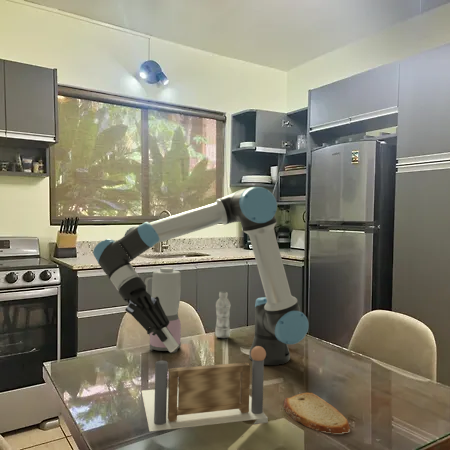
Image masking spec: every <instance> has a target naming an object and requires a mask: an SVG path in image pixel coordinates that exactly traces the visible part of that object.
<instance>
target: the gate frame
mask: <svg viewBox="0 0 450 450" xmlns="http://www.w3.org/2000/svg"><path fill="white" fill-rule="evenodd" d="M251 357H252V359H253V361H252V360H251V363H252V368H251V370H252V371H251V372H252V373H251V395H250V394H249V412H246V413H241V411H240V410H239V409H232V410H223V411H214V412H205V413H196V414H187V415H178V416H177V420H176V421H169V420H168V369H169V368H168V361H167V360H156V361H155V363H154V364H155V366H154V367H155V368H154V389H143V390H141V395H142V401H143V405H144V410H145V415H146V419H147V420H146V421H147V426H148V430H149V432H157V431H165V430H166V431H167V430H175V429H182V428H183V429H184V428H191V427H201V426H210V425H217V424H218V425H219V424H220V425H221V424H227V423H228V424H229V423H235V422H245V421H254V420H255V422H253V423H252V424H253V425H258V424H266V423H267V424H268V421H269V417H268V416H267V415H266V414H265V412H264V410H263V409H264V408H263V407H264V371H265V370H264V369H265V366H264V359H265V357H266V351H265V349H264V348H263V347H261V346H256V347H254V348H253V349H252V350H251ZM178 388H179V386H178ZM177 407H178V394H177Z"/></svg>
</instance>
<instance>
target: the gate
mask: <svg viewBox="0 0 450 450" xmlns="http://www.w3.org/2000/svg"><path fill="white" fill-rule="evenodd" d="M250 381H251V364H250V363H249V362H247V361H246V362H235V363H223V364H211V365H210V364H209V365H197V366H182V367H173V368H172V367H171V368H168V379H167V388H168V420H169V421H176V420H177V416H178V415H187V414H196V413H205V412H214V411H223V410H232V409H239V410H240V411H241V413H246V412H249V395H250V390H251V389H250V384H251V382H250ZM178 387H179V388H178ZM177 394H178V407H177Z"/></svg>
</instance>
